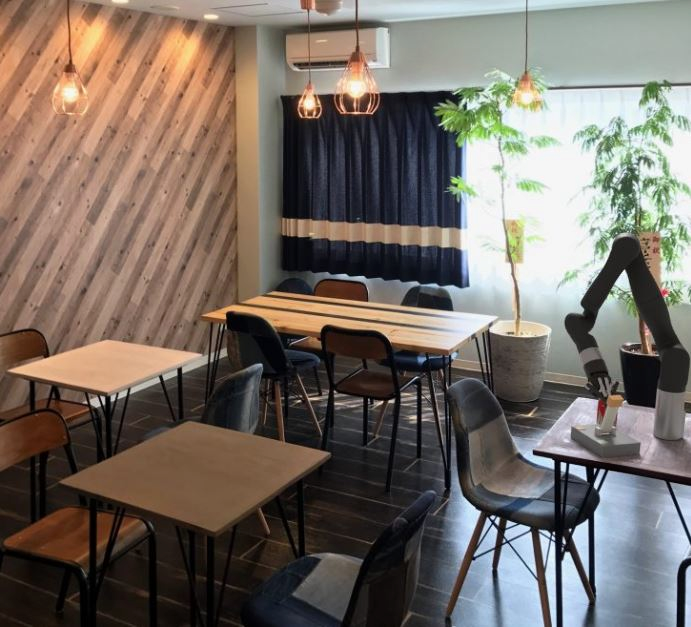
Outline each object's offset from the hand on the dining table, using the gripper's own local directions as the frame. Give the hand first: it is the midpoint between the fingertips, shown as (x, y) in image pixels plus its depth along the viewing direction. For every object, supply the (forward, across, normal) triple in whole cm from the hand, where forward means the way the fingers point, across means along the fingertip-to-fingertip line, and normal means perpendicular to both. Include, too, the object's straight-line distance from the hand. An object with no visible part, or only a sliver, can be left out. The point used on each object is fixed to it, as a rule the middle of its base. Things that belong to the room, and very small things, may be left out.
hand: (610, 408), depth 270 cm
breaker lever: (+5, 0, +7) cm, 9 cm away
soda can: (-2, +11, +23) cm, 25 cm away
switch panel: (+9, 0, +11) cm, 14 cm away
